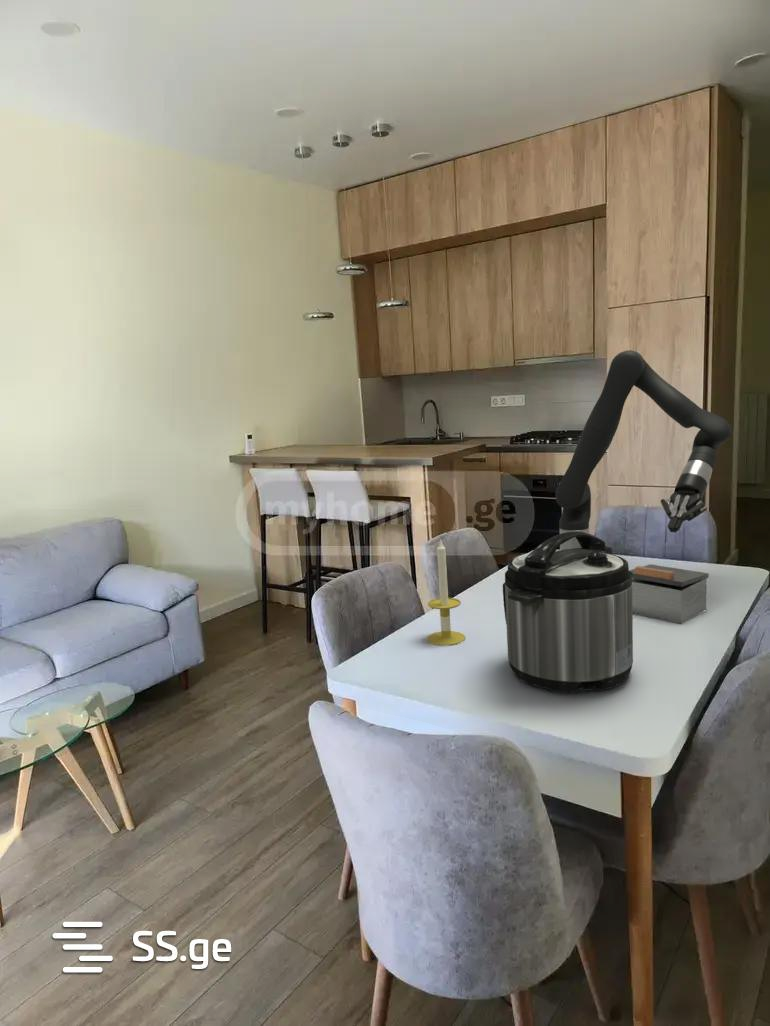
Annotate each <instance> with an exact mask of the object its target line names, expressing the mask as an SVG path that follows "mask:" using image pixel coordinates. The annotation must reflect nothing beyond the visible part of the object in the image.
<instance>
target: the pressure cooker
mask: <svg viewBox="0 0 770 1026" xmlns="http://www.w3.org/2000/svg"><path fill="white" fill-rule="evenodd" d="M573 537H576V539H577V540H578V542H579V544H580V545H581V547H582V548H572V549H564V550H560V549H558V548H560V545H561V544H563V543H564V542H566V541H568V540H570V539H572V538H573ZM629 570H630V569H629V562H628V560H627V559H626V558H623V557H621V556H620V555H619V556H618V555H616V554H613V548H612V547H611V546H608V545H607V546H606V542H605V541H604V540H603V539H601V538H600V537H597V536H596V535H594V534H592V533H589V534H588V533H584V532H565V533H562V534H560V533H559V534H556V535H554V536H552V537H549V538H548V539H546V540H544V541H543V542H541V543H540V544H539V545H537V547H535V548H534V549H533V550H532V551H531V552H526V553H522V554H519V555H517V556H514V557H512V558H511V559H509V560H508V561H507V570H506V571H505V572H504V582H503V584H502V595H503V597H502V598H503V599H502V600H503V609H504V610H503V611H504V619H505V625H506V643H507V645H506V646H507V659H508V664H509V667H510V670H511V671H512V672H513V673H514V675H515V676H516V677H517V678H518V679H519V680H521V681H522V682H524V683H526V684H528V685H531V686H536V687H540V688H543V689H546V690H550V691H554V692H561V693H577V692H579V690H582V691H585V690H589V691H603V690H609V689H611V688H615V687H617V686H619V685H620V684H622V683H623V682H624V681H625V680H627V679H628V677H629V675H630V673H631V671H632V667H633V663H634V655H633V654H634V652H633V651H634V646H633V644H634V640H633V638H634V636H633V634H634V632H633V615H634V614H633V612H632V601H633V600H632V575H633V573H632V572H631V571H629Z"/></svg>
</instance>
